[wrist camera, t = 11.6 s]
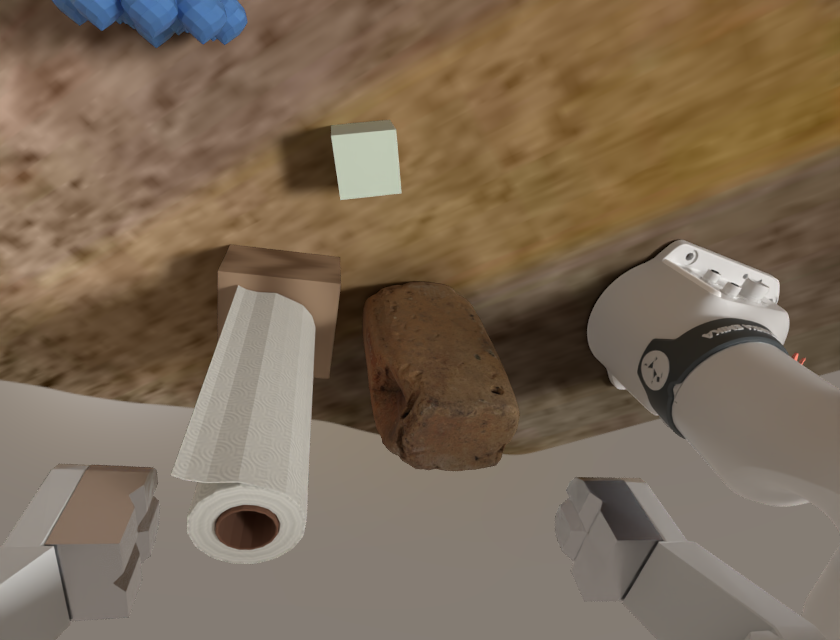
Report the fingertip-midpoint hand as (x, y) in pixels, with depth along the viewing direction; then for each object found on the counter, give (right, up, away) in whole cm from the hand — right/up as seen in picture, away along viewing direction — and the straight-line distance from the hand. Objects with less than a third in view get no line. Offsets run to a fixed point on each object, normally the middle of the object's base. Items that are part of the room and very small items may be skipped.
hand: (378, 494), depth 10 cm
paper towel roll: (-11, +3, +35) cm, 37 cm away
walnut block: (-13, +6, +40) cm, 42 cm away
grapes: (-17, +27, +27) cm, 42 cm away
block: (0, +5, +43) cm, 43 cm away
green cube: (-4, +18, +35) cm, 39 cm away
